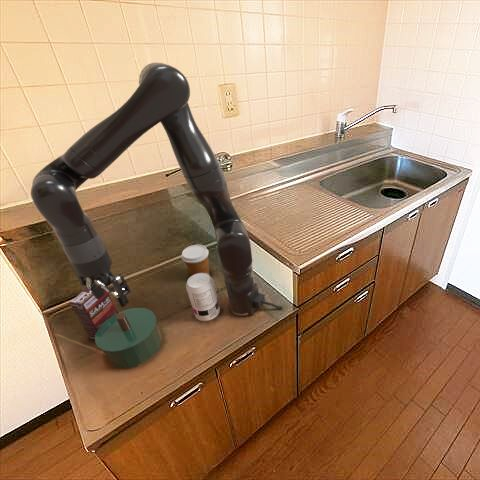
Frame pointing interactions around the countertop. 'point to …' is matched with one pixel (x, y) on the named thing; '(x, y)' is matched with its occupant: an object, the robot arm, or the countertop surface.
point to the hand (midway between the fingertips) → (112, 301)
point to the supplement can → (203, 296)
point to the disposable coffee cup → (196, 259)
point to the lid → (125, 329)
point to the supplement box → (93, 310)
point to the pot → (136, 352)
